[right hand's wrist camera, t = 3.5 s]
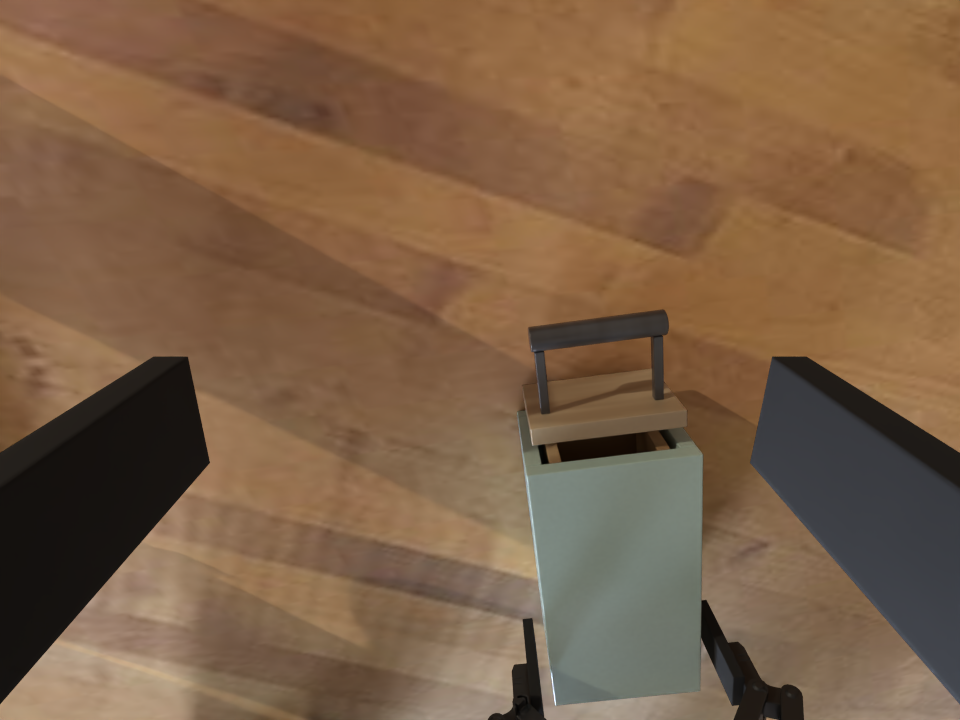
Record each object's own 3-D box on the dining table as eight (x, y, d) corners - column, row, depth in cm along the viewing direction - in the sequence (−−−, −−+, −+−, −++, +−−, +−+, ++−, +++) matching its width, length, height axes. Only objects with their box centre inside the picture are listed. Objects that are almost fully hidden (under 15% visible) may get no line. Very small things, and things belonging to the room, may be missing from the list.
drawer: (512, 307, 38) (519, 339, 31) (651, 289, 37) (687, 317, 31) (545, 585, 46) (556, 654, 40) (658, 573, 46) (687, 641, 40)
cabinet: (516, 410, 42) (526, 475, 33) (657, 393, 41) (703, 454, 33) (542, 611, 49) (555, 706, 40) (662, 598, 48) (700, 691, 40)
